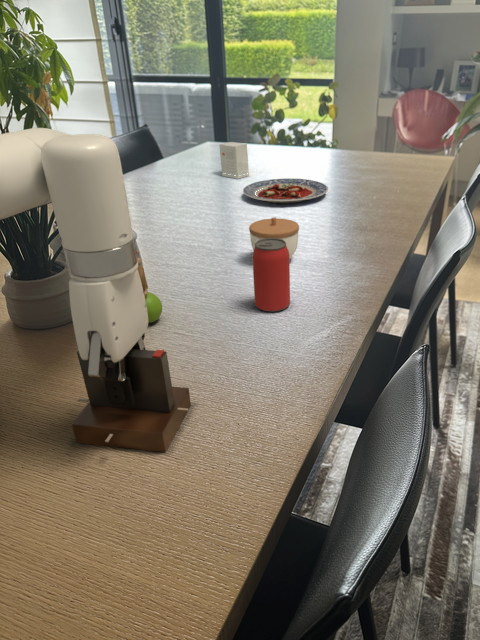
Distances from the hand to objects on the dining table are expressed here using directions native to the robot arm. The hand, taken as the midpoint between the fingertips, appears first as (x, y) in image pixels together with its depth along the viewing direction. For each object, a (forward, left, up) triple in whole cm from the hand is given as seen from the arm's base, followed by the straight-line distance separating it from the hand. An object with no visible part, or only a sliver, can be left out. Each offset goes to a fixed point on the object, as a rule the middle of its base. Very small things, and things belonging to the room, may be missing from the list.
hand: (129, 392), depth 70 cm
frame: (0, 0, -2) cm, 2 cm away
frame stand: (0, 0, -5) cm, 5 cm away
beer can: (+11, +38, -5) cm, 40 cm away
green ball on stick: (-10, +29, -5) cm, 31 cm away
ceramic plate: (0, +114, -5) cm, 114 cm away
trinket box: (+7, +61, -5) cm, 62 cm away
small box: (-22, +138, -5) cm, 140 cm away
